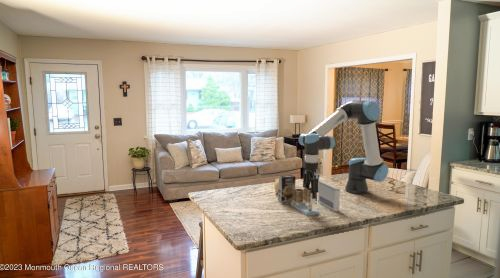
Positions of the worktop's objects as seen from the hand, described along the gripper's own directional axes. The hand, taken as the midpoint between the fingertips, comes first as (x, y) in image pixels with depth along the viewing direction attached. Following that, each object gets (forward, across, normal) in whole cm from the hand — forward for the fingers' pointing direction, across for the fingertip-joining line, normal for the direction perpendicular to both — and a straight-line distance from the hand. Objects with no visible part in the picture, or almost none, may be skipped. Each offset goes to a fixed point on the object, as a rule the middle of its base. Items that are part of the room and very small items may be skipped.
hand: (309, 202), depth 187 cm
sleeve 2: (0, 0, 0) cm, 0 cm away
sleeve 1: (+5, -13, 0) cm, 14 cm away
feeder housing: (+6, -6, +16) cm, 18 cm away
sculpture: (+6, -40, +2) cm, 40 cm away
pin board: (+6, -6, 0) cm, 9 cm away
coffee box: (+6, -23, -3) cm, 24 cm away
